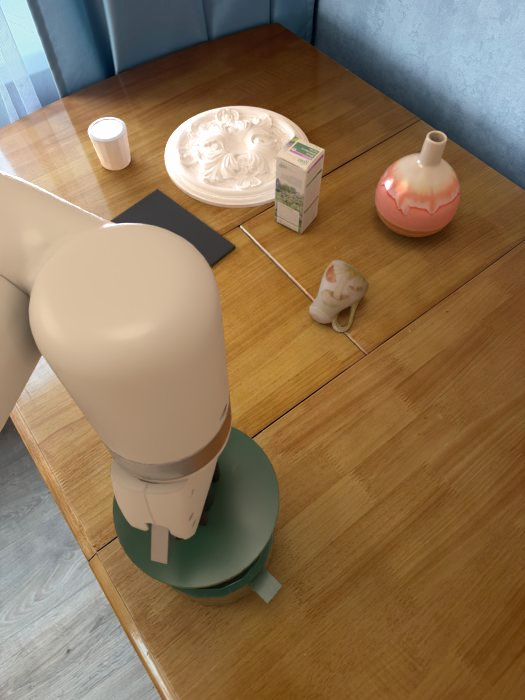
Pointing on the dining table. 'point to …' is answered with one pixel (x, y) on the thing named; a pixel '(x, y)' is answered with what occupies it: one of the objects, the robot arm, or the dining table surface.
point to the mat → (177, 224)
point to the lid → (216, 522)
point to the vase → (419, 191)
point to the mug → (338, 294)
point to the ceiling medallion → (229, 155)
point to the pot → (239, 584)
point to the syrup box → (298, 184)
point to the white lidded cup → (110, 142)
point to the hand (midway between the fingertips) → (196, 495)
